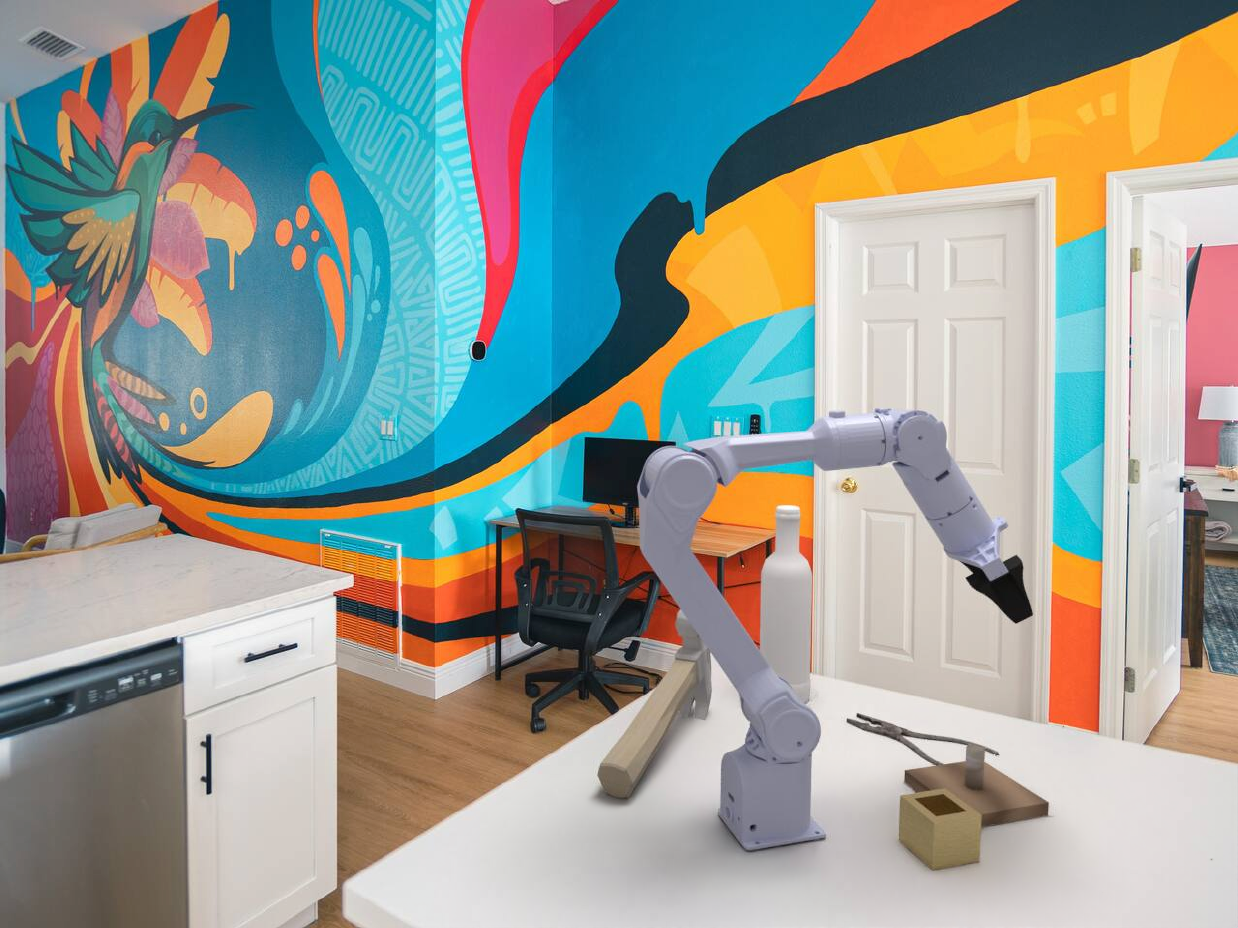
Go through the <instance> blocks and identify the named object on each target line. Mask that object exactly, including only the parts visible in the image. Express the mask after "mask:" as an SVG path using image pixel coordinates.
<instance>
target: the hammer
mask: <svg viewBox="0 0 1238 928" xmlns="http://www.w3.org/2000/svg"><path fill="white" fill-rule="evenodd" d="M675 629H676V631H677V636H678V637H682V645H681V647H679V648H678V649H677V650H676V653H675V654H674V661H673V663H672V664H671V666H670V668H669V669H668V671H667V672H666V673H665V674H664V676H663V677H662V679H660V682H659V683H658V684H657V685H656V687H655V688H654V689H653V691H652V692H651V694H650V695H649V696H648V698H647V699H646V701H645V702H644V704H643V705H642V707H641V708H640V710H639V711H638V712H637V714H636V715H635V717H634V718H633V720H632V721H631V722H630V724H629V725H628V727H627V728H626V730H625V731H624V733H623V734H622V735H621V737H620V738H619V739H618V740H617V741H616V743H615V744H614V745H613V747H612V748H611V749H610V751H609V752H608V753H607V754H606V755H605V757H604V758H603V759H602V761H601V762H600V764H599V766H598V770H597V773H596V774H597V775H596V776H597V778H598V780H599V782H600V786H601V787H602V789H603V791H604V793H607V794H608V795H610V796H612V797H614V798H618V799H623V798H625V799H626V798H630V796H631V794H633V791H634V790H635V788H636V786H637V784H638V783H639V781H640V779H641V778H642V776H643V774H644V773H645V771H646V769H647V768H648V765H649V764H650V762H651V760H653V757H654V756H655V754H656V753H657V751H658V750H659V748H660V747H661V744H662V742H663V741H664V739H665V737H666V736H667V733H668V731H669V729H670V728H671V726H672V725H673V723H674V720H675V718H676V717H677V715H678V716H679V715H681V716H680V717H684V716H687V717H686V718H689V717H690V714H691V711H692V708H693V705H695V706H694V711H693V719H696V720H700V721H706V720H707V716H708V713H709V708H710V705H711V704H710V703H711V698H712V693H713V686H712V658H711V652H710V651H709V649H708V648H707V646H706V645H705V644H704V642H703V641H702V639H701V638H700V636H699V635H698V633H697V632H696V631H695V629H694V628H693V626H692V625H691V623H690V622H689V621H688V619H687V618H686V616H685V615H684V613H683V612H682V610H681V609H680V608H679V610H678V611H677V613H676V619H675ZM694 703H695V704H694Z"/></svg>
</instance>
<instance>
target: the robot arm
mask: <svg viewBox="0 0 1238 928" xmlns="http://www.w3.org/2000/svg"><path fill="white" fill-rule="evenodd" d="M947 434H948V433H947V428H946V426H945V423H944V422H943V421H942V420H940V421H939V420H937V418H936V417H935V416H934V415H933V414H931V413H928V412H927V411H924V410H919V409H918V410H916V409H903V408H901V409H900V408H897V409H892V408H889V407H876V408H875V409H874V412H866V413H854V414H846V411H845V410H841V409H839V410H830V411H828V416H822V417H819V418H818V419H816V420H815V422H814V423H813V424H812V425H811V426H810V427H809V428H808V429H807V430H805V431H790V432H789V431H787V432H772V433H759V434H757V433H755V434H754V433H753V434H740V435H739V434H738V435H725V436H723V435H721V436H716V437H715V436H714V437H710V438H705V439H697V440H691V441H688V442H685V443H682V444H683V446H685V447H688V448H689V449H691V450H689V451H688V450H686V449H685V448H683V447H680V446H677V445H666V446H662V447H660V448H658V449H656V450H654V451H653V452H652V453H651V454H650V455H649V456H648V458H647V459H646V461H645V463H644V465H643V468H642V472H641V474H640V477H639V480H638V482H637V485H636V489H637V498H638V523H639V525H638V526H639V527H638V528H639V532H638V533H639V549H640V551H641V554H642V555H643V557H644V558H645V560H646V561H647V564H649V565H650V567H651V568H652V570H653V572H654V573H655V574H656V576H657V577H658V579H659V580H660V582H661V583H662V584H663V586H664V587H665V589H666V590H667V592H668V593H669V594H670V596H671V597H672V599H673V600H674V602H675V603H676V605H677V606H678V608H679V610H680V609H681V610H682V612H683V613H684V615H685V616H686V618H687V619H688V621H689V622H690V623H691V625H692V626H693V628H694V629H695V631H696V632H697V633H698V635H699V636H700V638H701V639H702V641H703V642H704V644H705V645H706V646H707V648H708V649H709V651H710V655H712V657H713V658H714V660H715V661H716V662H717V664H718V666H719V667H720V668H721V670H722V671H723V673H724V674H725V675H726V677H727V679H728V680H729V681H730V683H731V684H732V685H733V687H734V688H735V690H736V691H737V694H738V696H739V699H740V700H739V702H740V709H741V711H742V712H741V713H742V714H743V716H744V717H745V719H746V720H747V721H748V722H749V727H748V730H747V732H746V735H745V738H744V743H743V744H742V745H741V746H739V747H738V748H736V749H734V750H731V751H728V752H726V753H724V754H723V755H722V759H721V764H720V804H719V805H720V807H719V808H718V809H717V814H718V816H719V817H720V818H721V819H722V822H724V823H725V825H726V826H727V828H728V829H729V830H730V831H731V833H732V834H733V835H734V836H735V838H736V840H737V841H738V842H739V843H740V844H741V846H742V847H743V849H745V851H754V850H760V849H765V848H771V847H777V846H783V845H790V844H794V843H795V844H796V843H801V842H805V841H806V842H807V841H812V840H819V839H824V838H826V836H827V832H826V830H825V829H824V828H822V826H821V825H820V824H819V823H818V822H817V821H816V820H814V818H813V817H812V816H811V802H812V801H811V800H812V767H813V766H812V763H813V762H812V761H813V760H812V759H813V752H814V750H816V749H817V747H818V744H819V742H820V739H821V735H822V727H821V726H822V725H821V723H820V720H819V717H818V715H817V714H816V713H815V712H814V710H813V709H812V708H810V707H808V706H807V705H806V703H804V702H803V701H802V700H801V699H800V698H799V697H798V696H797V694H796V693H795V692H794V691H793V689H792V687H791V686H790V684H789V683H788V682H787V681H786V680H785V679H784V678H782V677H780V676H778V675H776V673H775V672H774V671H773V669H772V668H771V666H770V665H769V664H768V662H767V661H766V659H765V658H764V656H763V655H762V653H761V652H760V648H759V647H758V645H757V644H756V643H755V642H754V640H753V639H752V637H751V636H750V634H749V633H748V632H747V630H746V628H745V627H744V626H743V624H742V622H741V621H740V620H739V618H738V617H737V615H736V614H735V612H734V611H733V610H732V607H731V606H730V605H729V603H728V602H727V601H726V599H725V598H724V596H723V594H722V593H721V592H720V589H718V588H717V586H716V585H715V583H714V582H713V580H712V579H711V577H710V575H709V574H708V573H707V571H706V569H705V568H704V567H703V566H702V563H701V562H700V561H699V559H698V558H697V557H696V555H695V554H694V552H693V550H692V548H691V545H692V542H693V538H694V535H695V532H696V529H697V528H696V527H697V525H698V522H699V521H700V520H701V518H702V517H703V515H704V514H705V512H706V511H707V510H708V508H709V507H710V506H711V504H712V502H713V500H714V498H715V496H716V495H717V494H716V493H717V489H718V484H719V485H721V486H722V487H725V488H726V487H728V486H729V485H730V484H731V483H732V482H733V481H734V480H735V478H737V476H738V475H740V473H741V472H742V471H743V470H750V469H757V468H765V467H771V466H778V465H786V464H787V465H788V464H793V463H800V462H801V463H802V462H808V461H811V462H813V463H814V464H815V465H816V466H817V467H818V468H820V470H822V471H825V472H830V471H841V470H850V469H852V470H853V469H860V468H861V469H862V468H869V467H881V466H884V465H886V464H888V463H891V462H892V466H893V468H894V470H895V471H896V473H897V475H898V476H899V477H900V480H901V482H902V483H903V485H904V487H905V488H906V490H907V491H908V492H909V494H910V496H911V498H912V499H913V501H914V502H915V504H916V505H917V506H918V508H919V510H920V512H921V513H922V515H923V516H924V518H925V519H926V521H927V524H929V526H930V528H931V529H932V530H933V532H934V533H935V535H936V537H937V538H938V539H939V542H940V543H941V544H942V546H943V547H942V548H943V552H944V553H945V555H947V557H948V558H950V559H951V560H952V559H953V560H955V561H957V562H960V564H962V565H964V566H965V568H967V569H968V570H969V571H970V572H971V573H972V574H969V575H968V576H966V577H965V580H966V582H967V583H968V584H969V586H970V587H971V588H972V589H974V591H976V592H978V593H979V594H982V595H984V596H986V597H987V598H988V599H989V600H990V601H992V602H993V603H994V604H995V605H996V606H997V607H998V609H1000V610H1001V612H1002V613H1003V614H1004V615H1005V616H1006V617H1007V618H1008V619H1009V620H1010V621H1011V622H1012V623H1014V624H1019V623H1020V622H1022V621H1023V622H1024V620H1027V619H1028V618H1030V617H1032V616H1034V612H1033V609H1032V605H1031V603H1030V602H1031V601H1030V600H1029V595H1028V593H1027V591H1026V587H1025V583H1024V569H1025V568H1024V563H1023V561H1022V559H1021V558H1020V556H1018V554H1015V555H1013V556H1010V557H1009V558H1008V559H1006V560H1004V561H1002V558H1001V557H1000V549H1001V533H1002V531H1004V530H1005V529H1007V528H1008V527H1009V523H1008V522H1007V520H1006V519H1005V518H1004V516H998V517H996V518H993V519H992V518H991V517H990V515H989V514H988V512H987V510H986V509H985V507H984V506H983V504H982V503H981V500H980V499H979V497H978V496H977V494H976V493H975V491H974V489H973V488H972V486H971V485H970V483H969V482H968V479H967V478H966V476H965V475H964V473H963V471H962V470H961V469H960V467H959V465H958V463H957V462H956V461H955V459H954V457H953V456H952V455H951V453H950V451H949V450H948V448H947V440H948V436H947Z"/></svg>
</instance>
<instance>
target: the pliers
mask: <svg viewBox="0 0 1238 928" xmlns="http://www.w3.org/2000/svg"><path fill="white" fill-rule="evenodd" d="M856 718H859V719H860V720H863V721H866V722H862V721H858V720H856V719H853V718H848V717H847V718H846V723H847V724H850V725H851V726H854V727H856V728H857V729H860V730H862V731H864V732H867V733H871V734H875V735H879V736H883V737H886V738H889V739H890V740H893V741H896V742H898V743H900V744H902V745H903V746H905V747H907V748H908V749H910V750H911V751H912V752H914V753H915V754H916V755H918V756H919V757H920V758H922V759H924V760H925V761H926V762H929V763H930V764H932V765H933V766H936V765H943V764H944V762H943V763H942V762H941V761H938V760H936V759H934V758H933V757H931V756H929V755H928V754H926V753H925V752H924V751H923V750H921V749H920V748H919V747H918V746H917V745H915V743H914V742H911V740H909V739H907V738H905V737H909V738H914V739H919V740H926V739H927V741H937V742H944V743H952V744H959V745H965V746H966V747H967V746H969V745H976V746H980V747H982V748H984V749H985V753H986V752H987V753H989V754H992V755H994V754H995V755H994V756H996V755H999V756H1000V753H999V751H997V750H994V749H993V748H989V747H987V746H984V745H982V744H978V743H975V742H972V741H968V740H963V739H960V738H956V737H950V736H942V735H935V734H934V735H933V734H927V733H920V732H915V731H912V730H909V729H908V728H905V727H903V726H902V727H901V726H898V725H896V724H894V723H891V722H888V721H884V720H881V719H878V718H874V717H872V716H868V715H865V714H862V713H858V712H857V713H856ZM870 724H871V725H870ZM874 725H875V726H874ZM876 725H877V726H876Z"/></svg>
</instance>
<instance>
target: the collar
mask: <svg viewBox="0 0 1238 928" xmlns="http://www.w3.org/2000/svg"><path fill="white" fill-rule="evenodd" d="M981 817H982V815H981V814H980V813H978V812H977V811H976V810H974V809H973V808H972V807H970V806H969V805H967V804H966V803H965V802H963V801H962V800H961V799H959V798H958V797H956V796H955V795H954V794H952V793H951V792H950V791H948V790H947V789H945V788H943V789H937V790H930V791H924V792H912V793H906V794H900V795H899V817H898V841H899V842H900V843H901V844H902V845H903V846H904V847H906V848H907V849H908V850H909V851H910V852H911V853H912V854H914V855H915V856H916V858H918V859H919V860H920V861H922V863H923V864H925V865H926V866H927V867H928V868H929V869H930V870H932V871H937V870H942V869H946V868H954V867H956V866H957V867H958V866H962V865H967V864H974V863H978V862H980V859H981V858H980V856H981V837H982V836H981V834H982V827H981Z"/></svg>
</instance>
